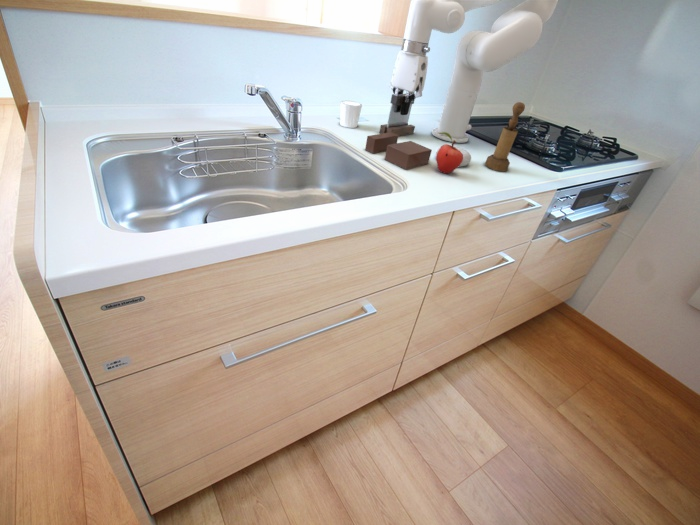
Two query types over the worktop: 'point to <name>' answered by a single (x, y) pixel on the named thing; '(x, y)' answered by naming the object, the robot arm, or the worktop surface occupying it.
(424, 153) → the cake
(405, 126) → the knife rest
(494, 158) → the mortar and pestle
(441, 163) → the apple
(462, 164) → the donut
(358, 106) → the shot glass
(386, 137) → the brown rectangular bar
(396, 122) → the dough scraper
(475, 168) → the worktop surface
